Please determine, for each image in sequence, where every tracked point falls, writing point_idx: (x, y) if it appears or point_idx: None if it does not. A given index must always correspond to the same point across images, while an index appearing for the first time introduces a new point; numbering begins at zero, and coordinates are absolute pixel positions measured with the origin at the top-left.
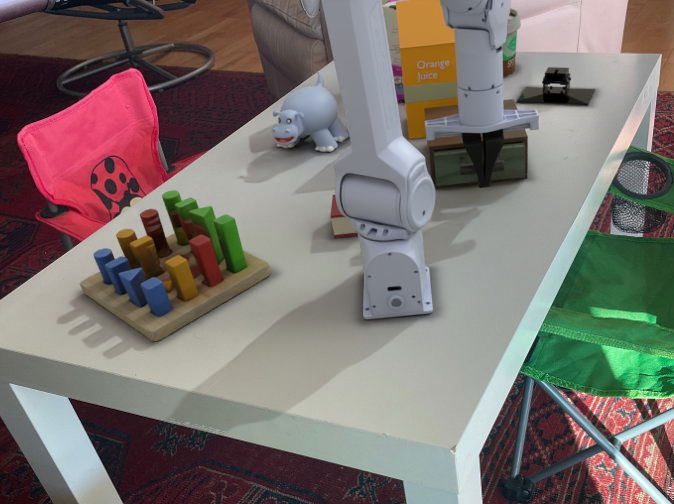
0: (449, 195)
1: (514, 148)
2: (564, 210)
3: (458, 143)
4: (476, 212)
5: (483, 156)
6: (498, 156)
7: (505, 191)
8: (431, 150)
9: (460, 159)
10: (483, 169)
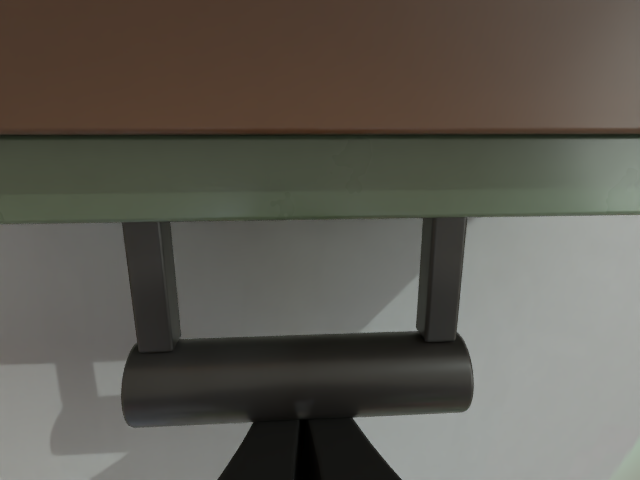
0: None
1: (617, 213)
2: (599, 439)
3: (51, 130)
4: None
5: (320, 474)
6: (451, 256)
7: (411, 244)
8: None
9: (128, 249)
10: (307, 443)
